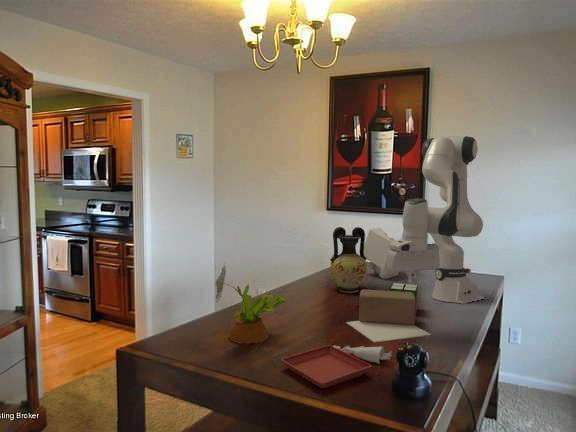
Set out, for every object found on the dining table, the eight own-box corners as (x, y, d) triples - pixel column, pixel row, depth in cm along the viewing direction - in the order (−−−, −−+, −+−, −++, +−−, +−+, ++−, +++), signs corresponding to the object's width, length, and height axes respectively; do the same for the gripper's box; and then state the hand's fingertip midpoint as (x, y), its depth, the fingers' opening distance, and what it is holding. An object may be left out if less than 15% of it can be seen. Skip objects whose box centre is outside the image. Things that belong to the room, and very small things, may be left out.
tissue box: (378, 265, 259) (392, 225, 250) (400, 279, 248) (415, 238, 240) (355, 270, 245) (369, 228, 237) (378, 285, 235) (393, 242, 226)
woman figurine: (385, 355, 126) (325, 348, 134) (386, 371, 126) (325, 363, 134) (394, 341, 136) (337, 336, 144) (395, 356, 137) (338, 349, 144)
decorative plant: (222, 323, 164) (222, 255, 161) (288, 325, 163) (289, 256, 161) (206, 353, 137) (206, 271, 134) (286, 355, 136) (287, 273, 134)
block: (416, 299, 161) (359, 295, 165) (415, 326, 162) (358, 322, 166) (413, 291, 171) (360, 288, 175) (412, 317, 172) (359, 313, 176)
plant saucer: (321, 395, 113) (321, 382, 112) (280, 369, 127) (280, 358, 127) (372, 377, 123) (372, 365, 123) (328, 355, 138) (329, 344, 137)
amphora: (356, 285, 223) (358, 224, 221) (373, 293, 207) (375, 228, 205) (323, 287, 218) (325, 225, 215) (338, 296, 202) (340, 229, 199)
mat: (398, 317, 173) (398, 316, 173) (430, 335, 154) (431, 334, 154) (346, 323, 166) (346, 322, 166) (374, 342, 147) (374, 341, 147)
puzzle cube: (417, 308, 185) (418, 284, 184) (415, 316, 176) (416, 290, 175) (392, 306, 188) (392, 282, 187) (389, 313, 179) (390, 288, 178)
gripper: (433, 241, 167) (431, 278, 168) (385, 244, 160) (383, 282, 162) (444, 244, 161) (442, 282, 162) (394, 246, 154) (393, 286, 156)
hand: (413, 282), depth 162 cm, fingers closed
